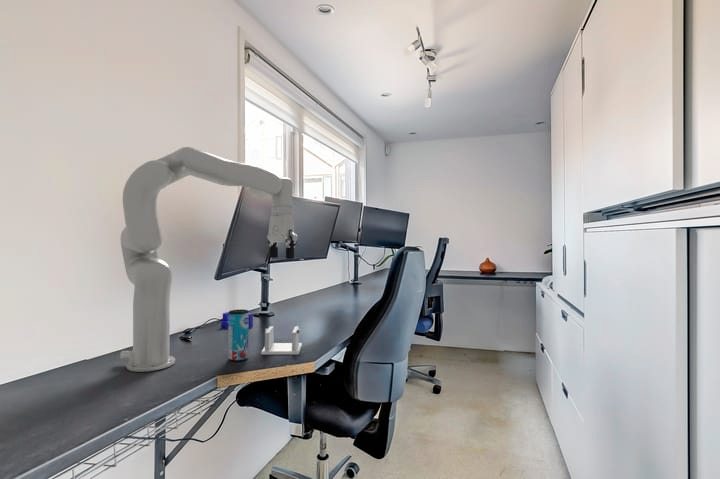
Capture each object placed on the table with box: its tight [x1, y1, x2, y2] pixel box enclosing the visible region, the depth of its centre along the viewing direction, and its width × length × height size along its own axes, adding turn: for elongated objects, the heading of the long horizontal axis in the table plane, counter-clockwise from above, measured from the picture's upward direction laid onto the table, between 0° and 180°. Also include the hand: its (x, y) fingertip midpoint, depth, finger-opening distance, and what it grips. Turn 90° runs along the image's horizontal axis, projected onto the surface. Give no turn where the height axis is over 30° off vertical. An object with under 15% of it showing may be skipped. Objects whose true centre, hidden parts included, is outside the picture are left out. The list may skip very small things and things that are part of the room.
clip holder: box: [260, 325, 303, 356], centre depth 132 cm, size 12×10×7 cm
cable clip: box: [220, 311, 254, 330], centre depth 164 cm, size 12×4×6 cm, turn 85°
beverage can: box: [227, 309, 250, 363], centre depth 121 cm, size 6×6×15 cm
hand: (281, 258), depth 144 cm, fingers open, 9 cm apart
